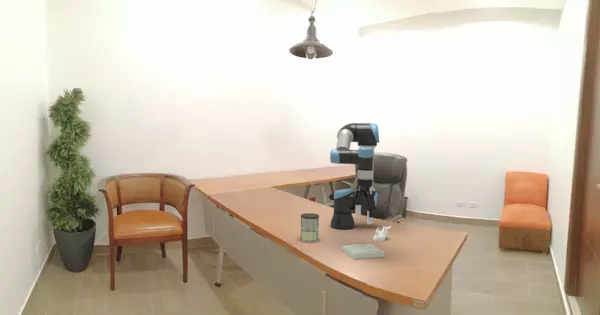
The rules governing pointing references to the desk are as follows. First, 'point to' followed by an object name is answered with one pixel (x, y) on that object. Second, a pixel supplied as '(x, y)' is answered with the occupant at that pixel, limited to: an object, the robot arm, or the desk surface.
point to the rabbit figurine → (381, 234)
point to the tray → (363, 251)
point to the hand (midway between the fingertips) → (363, 220)
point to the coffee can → (309, 227)
